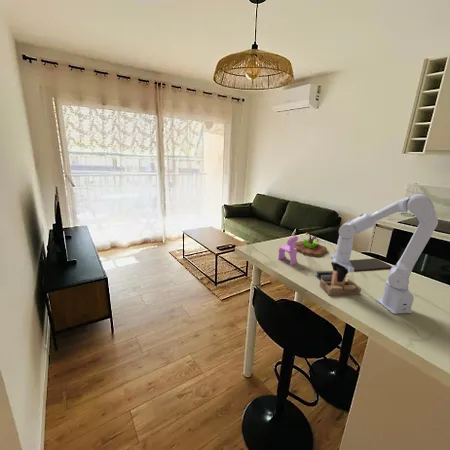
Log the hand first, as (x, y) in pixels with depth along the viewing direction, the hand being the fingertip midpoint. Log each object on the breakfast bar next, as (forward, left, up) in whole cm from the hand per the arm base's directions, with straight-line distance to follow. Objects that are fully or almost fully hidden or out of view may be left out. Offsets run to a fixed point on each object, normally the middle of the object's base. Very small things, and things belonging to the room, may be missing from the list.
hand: (338, 279), depth 109 cm
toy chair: (+29, +12, -4) cm, 32 cm away
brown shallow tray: (-2, 0, -4) cm, 4 cm away
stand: (+9, 0, -4) cm, 9 cm away
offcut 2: (-4, -3, -4) cm, 6 cm away
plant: (+45, -8, -5) cm, 46 cm away
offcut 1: (-4, +3, -4) cm, 6 cm away
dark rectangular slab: (+22, -29, -5) cm, 37 cm away
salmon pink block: (0, 0, -4) cm, 4 cm away
